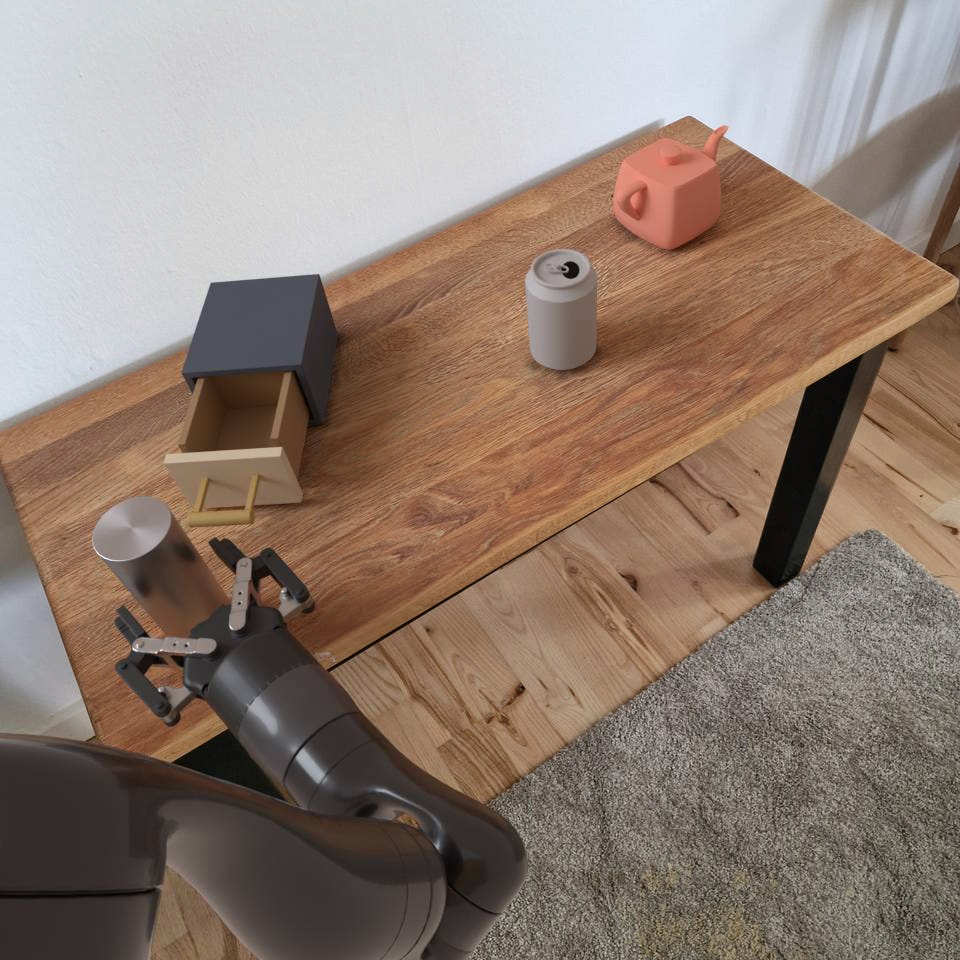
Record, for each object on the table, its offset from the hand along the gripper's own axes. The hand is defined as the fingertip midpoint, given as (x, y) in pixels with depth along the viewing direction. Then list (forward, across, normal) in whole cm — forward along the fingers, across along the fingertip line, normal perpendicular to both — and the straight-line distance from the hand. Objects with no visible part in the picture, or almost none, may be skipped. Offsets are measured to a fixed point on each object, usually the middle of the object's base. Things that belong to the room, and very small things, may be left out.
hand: (170, 578), depth 66 cm
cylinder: (+1, 0, +11) cm, 11 cm away
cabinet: (+23, -24, +11) cm, 35 cm away
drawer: (+13, -13, +10) cm, 21 cm away
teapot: (+7, -75, +11) cm, 76 cm away
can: (+1, -48, +11) cm, 49 cm away
